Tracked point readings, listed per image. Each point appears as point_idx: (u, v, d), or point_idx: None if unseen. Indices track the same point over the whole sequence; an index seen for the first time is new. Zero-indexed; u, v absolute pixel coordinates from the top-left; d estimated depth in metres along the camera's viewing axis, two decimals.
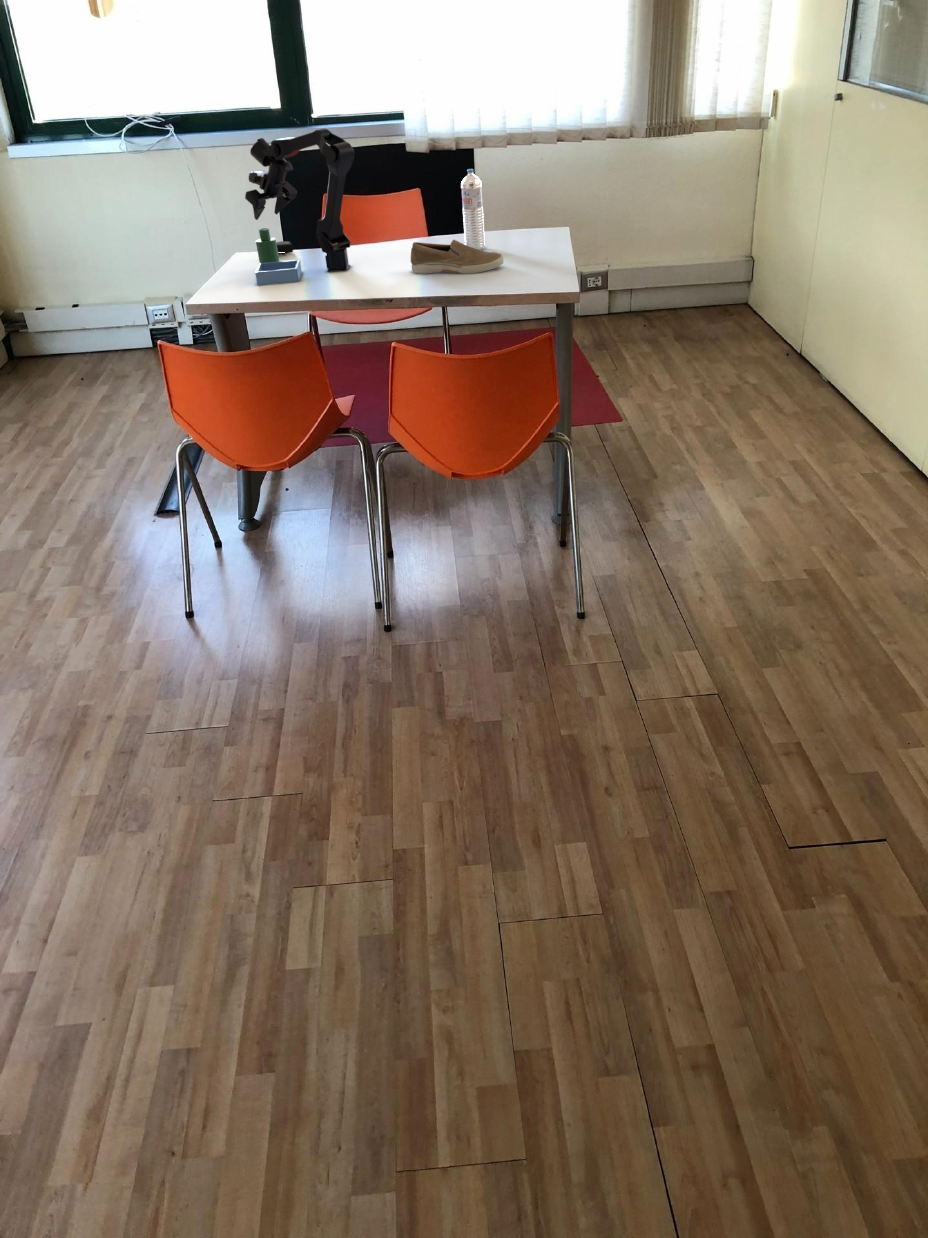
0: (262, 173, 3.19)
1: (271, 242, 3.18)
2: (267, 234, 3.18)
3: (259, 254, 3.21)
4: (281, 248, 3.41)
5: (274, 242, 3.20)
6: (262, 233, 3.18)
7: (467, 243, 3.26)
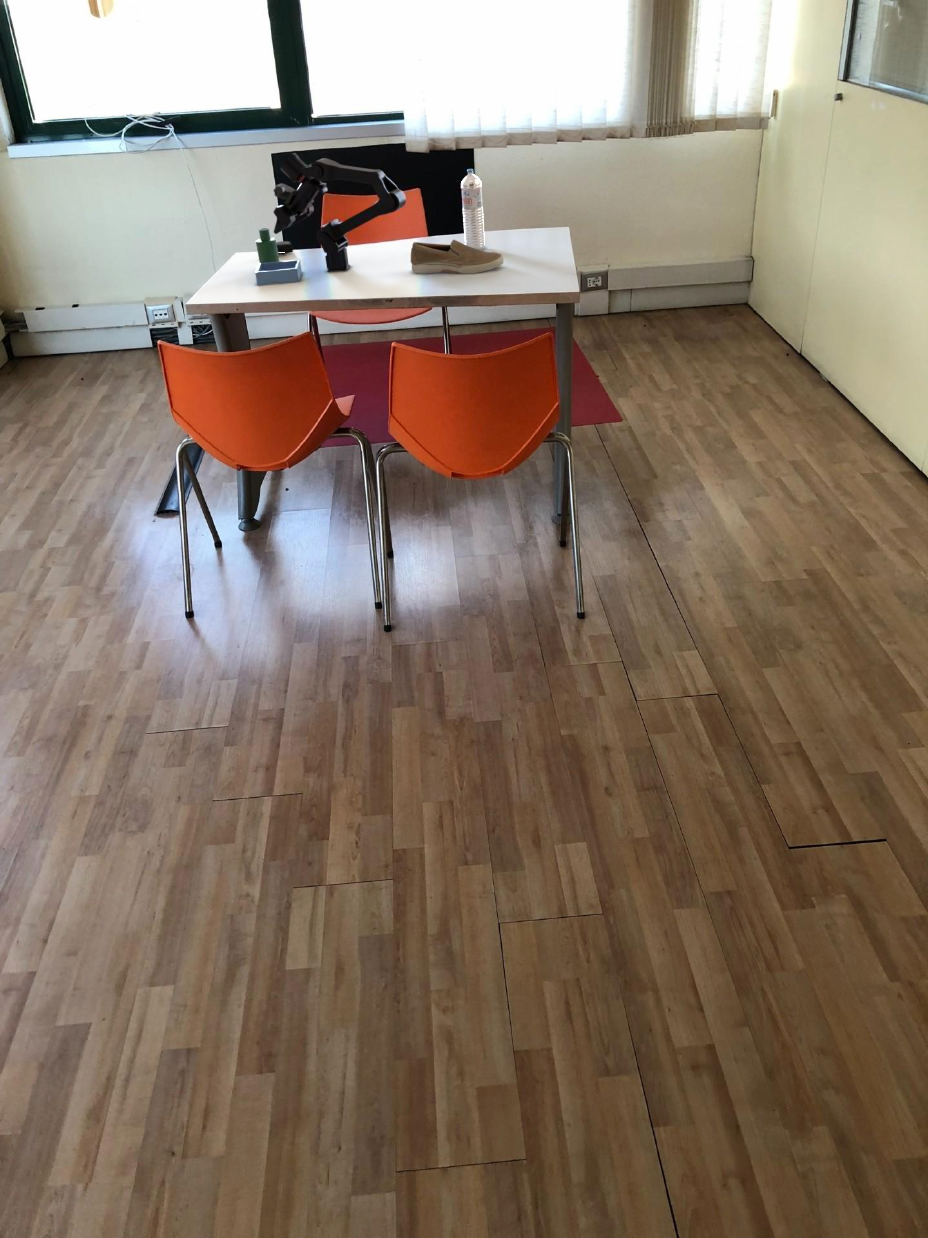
0: (286, 187, 3.09)
1: (271, 242, 3.18)
2: (267, 234, 3.18)
3: (259, 254, 3.21)
4: (281, 248, 3.40)
5: (274, 242, 3.20)
6: (262, 233, 3.18)
7: (467, 243, 3.26)
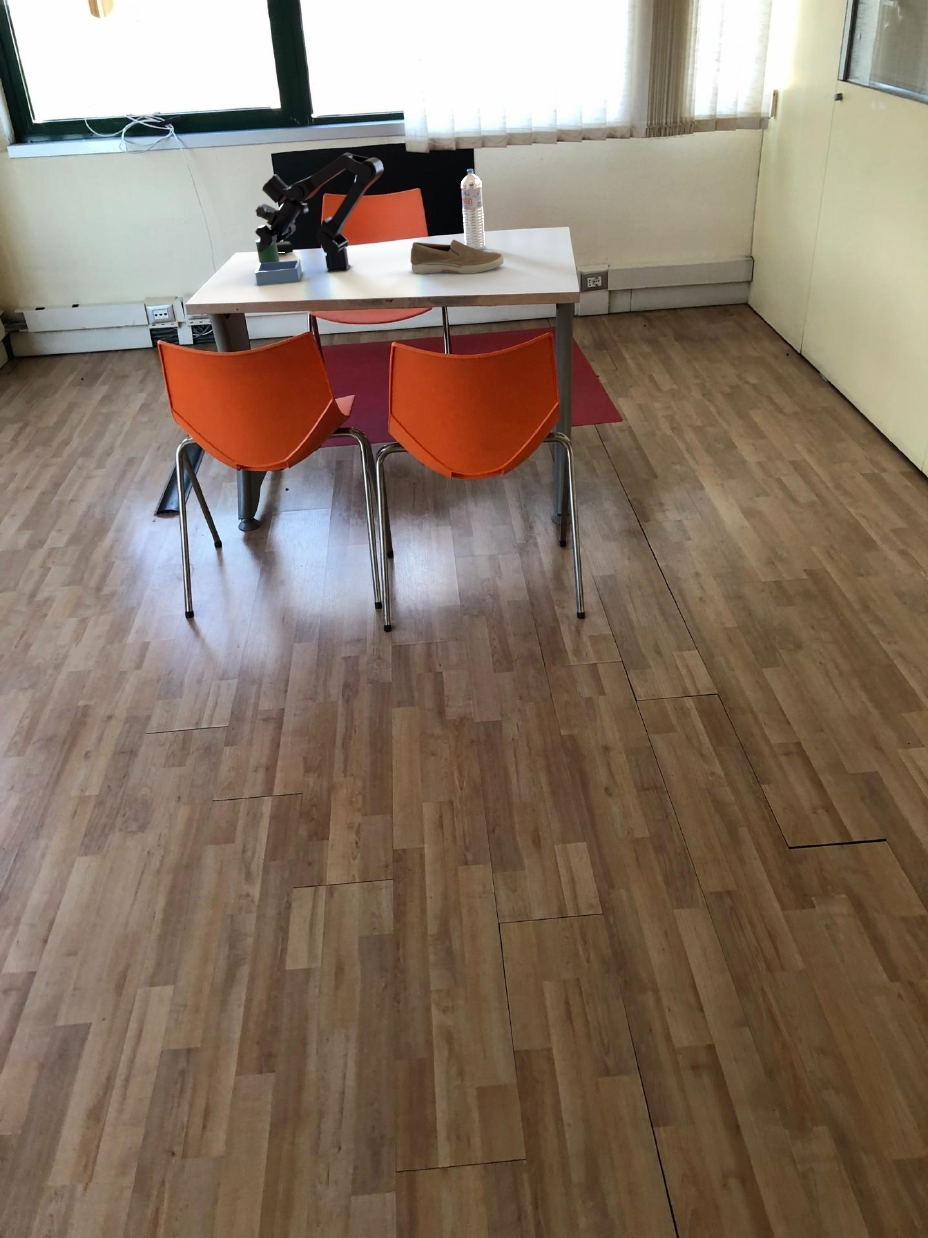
0: (268, 207, 3.14)
1: None
2: None
3: (259, 254, 3.21)
4: (281, 248, 3.40)
5: None
6: None
7: (467, 243, 3.26)
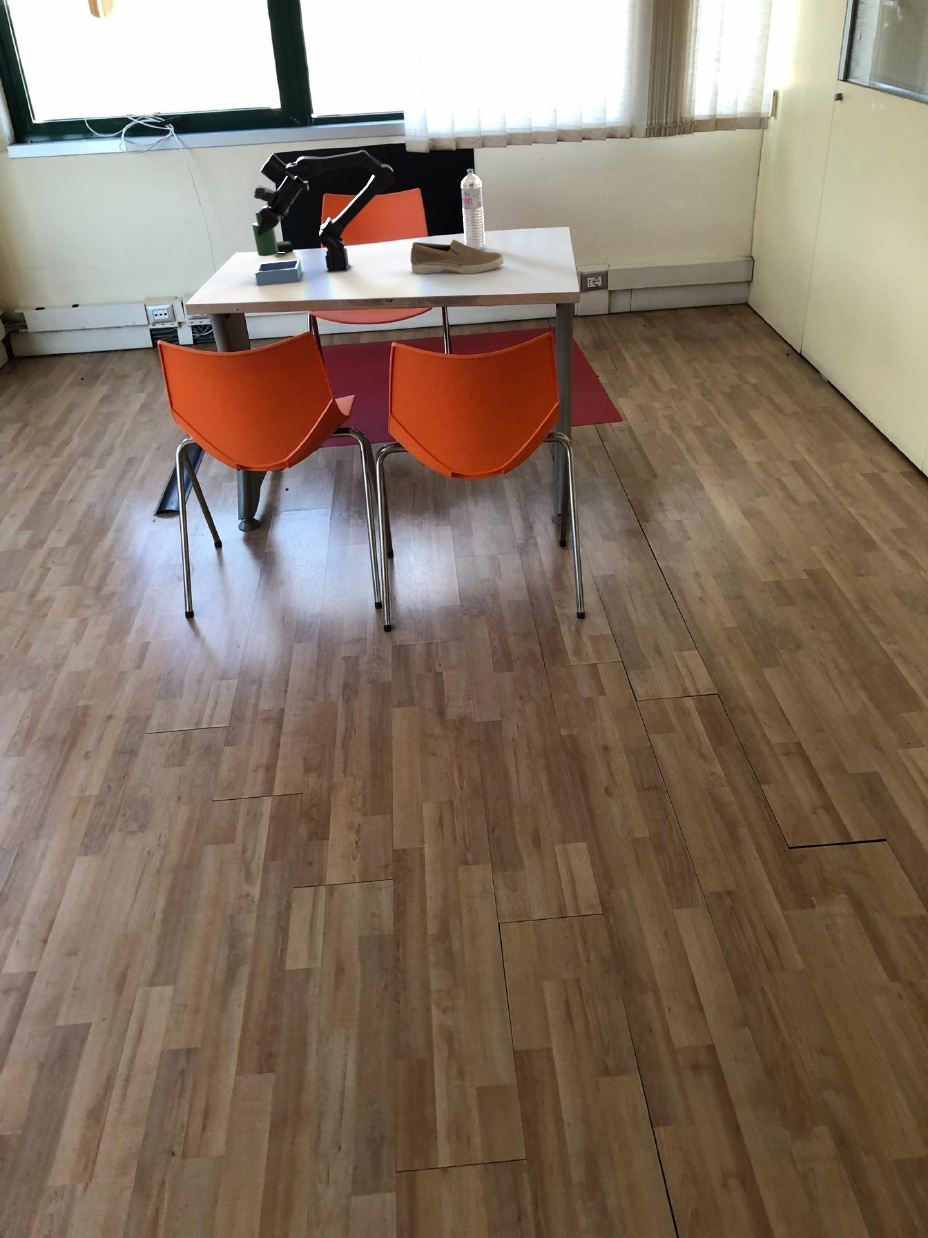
0: (265, 188, 3.04)
1: None
2: None
3: (258, 238, 3.09)
4: (281, 248, 3.40)
5: None
6: (260, 216, 3.07)
7: (467, 243, 3.26)
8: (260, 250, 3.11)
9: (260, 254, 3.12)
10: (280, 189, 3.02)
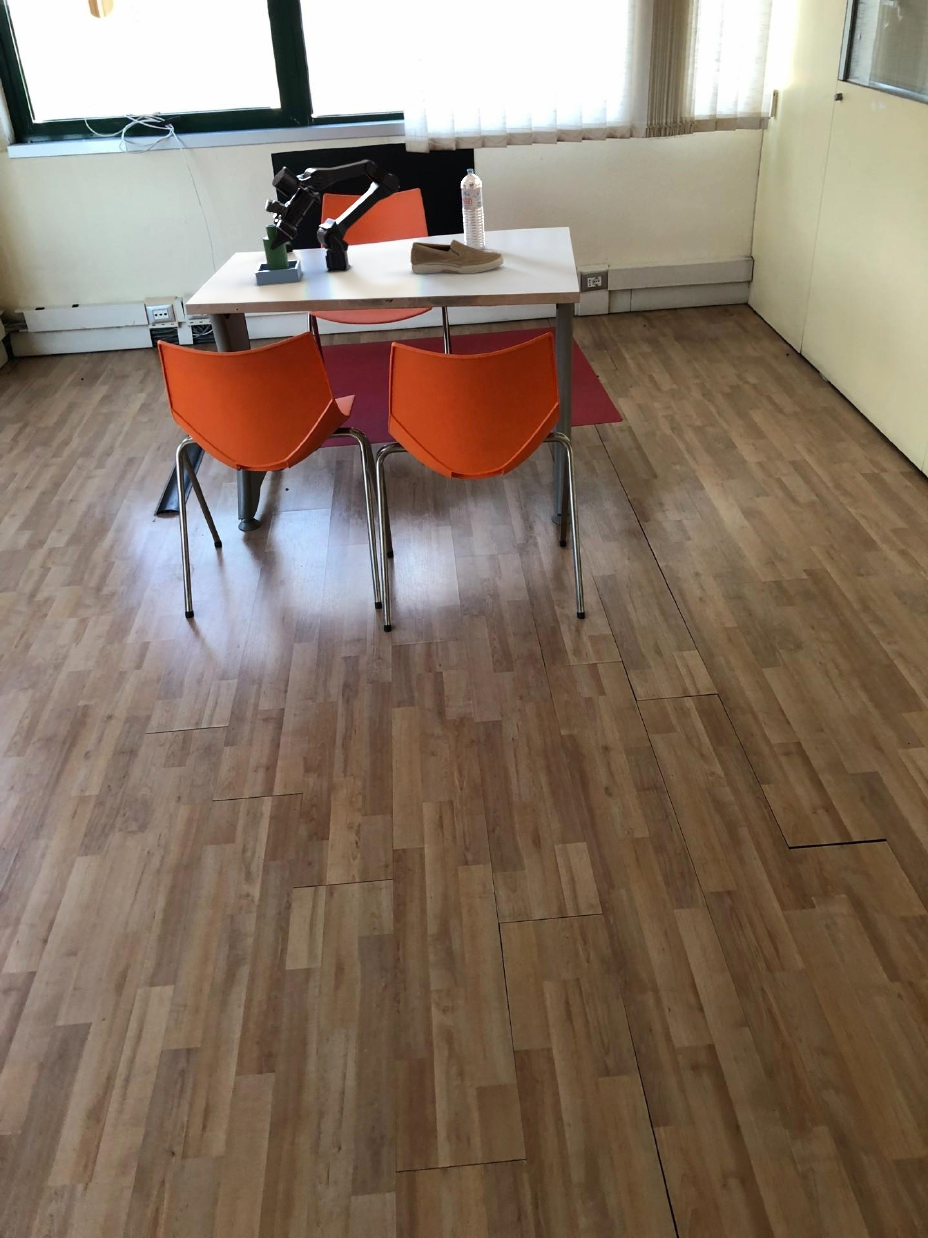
0: None
1: None
2: (276, 230, 3.05)
3: (270, 252, 3.06)
4: None
5: None
6: (272, 230, 3.04)
7: (467, 243, 3.26)
8: (273, 264, 3.08)
9: (272, 268, 3.09)
10: (293, 202, 3.01)
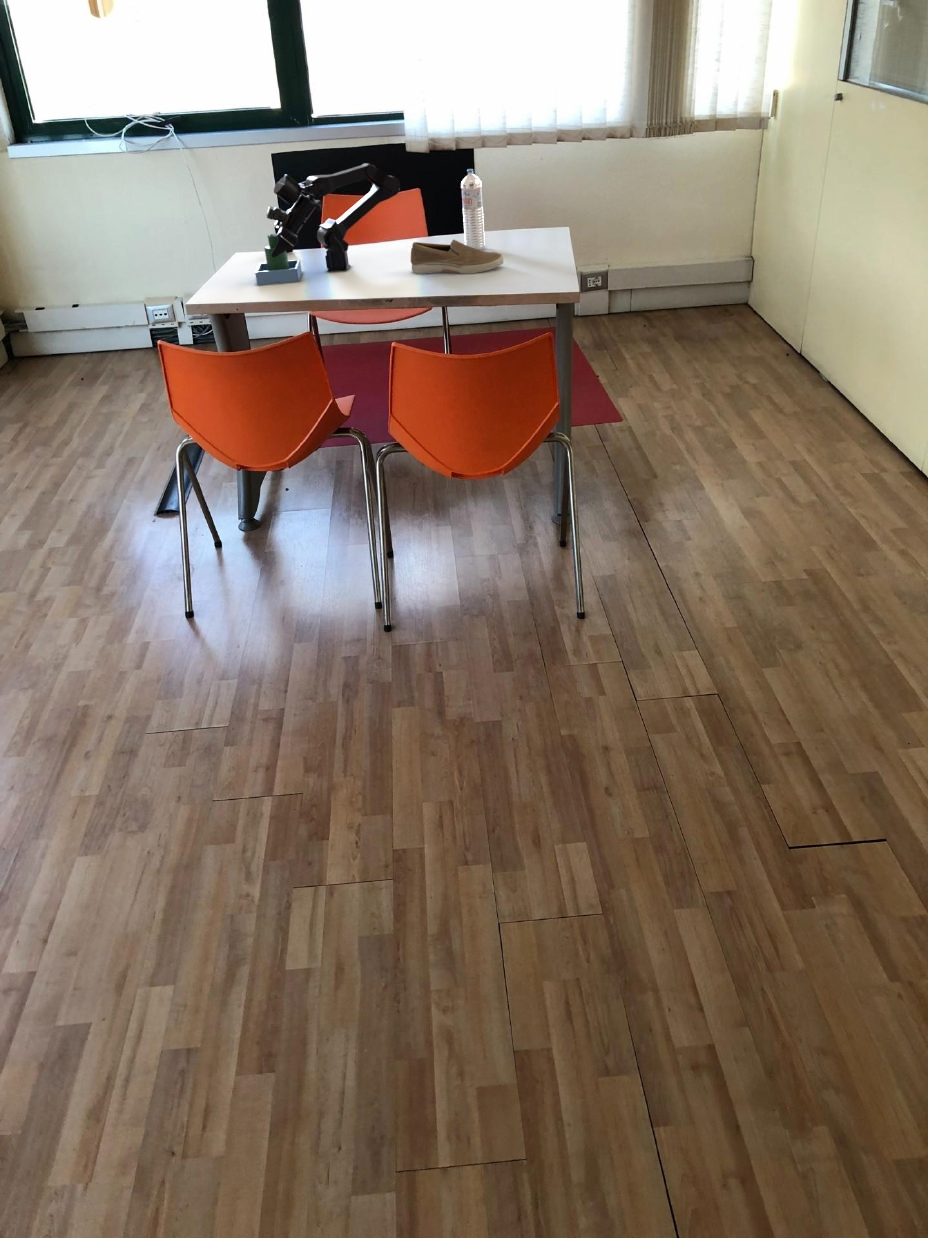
0: None
1: None
2: None
3: (272, 261, 3.07)
4: None
5: None
6: (274, 239, 3.05)
7: (467, 243, 3.26)
8: None
9: None
10: (294, 209, 3.02)
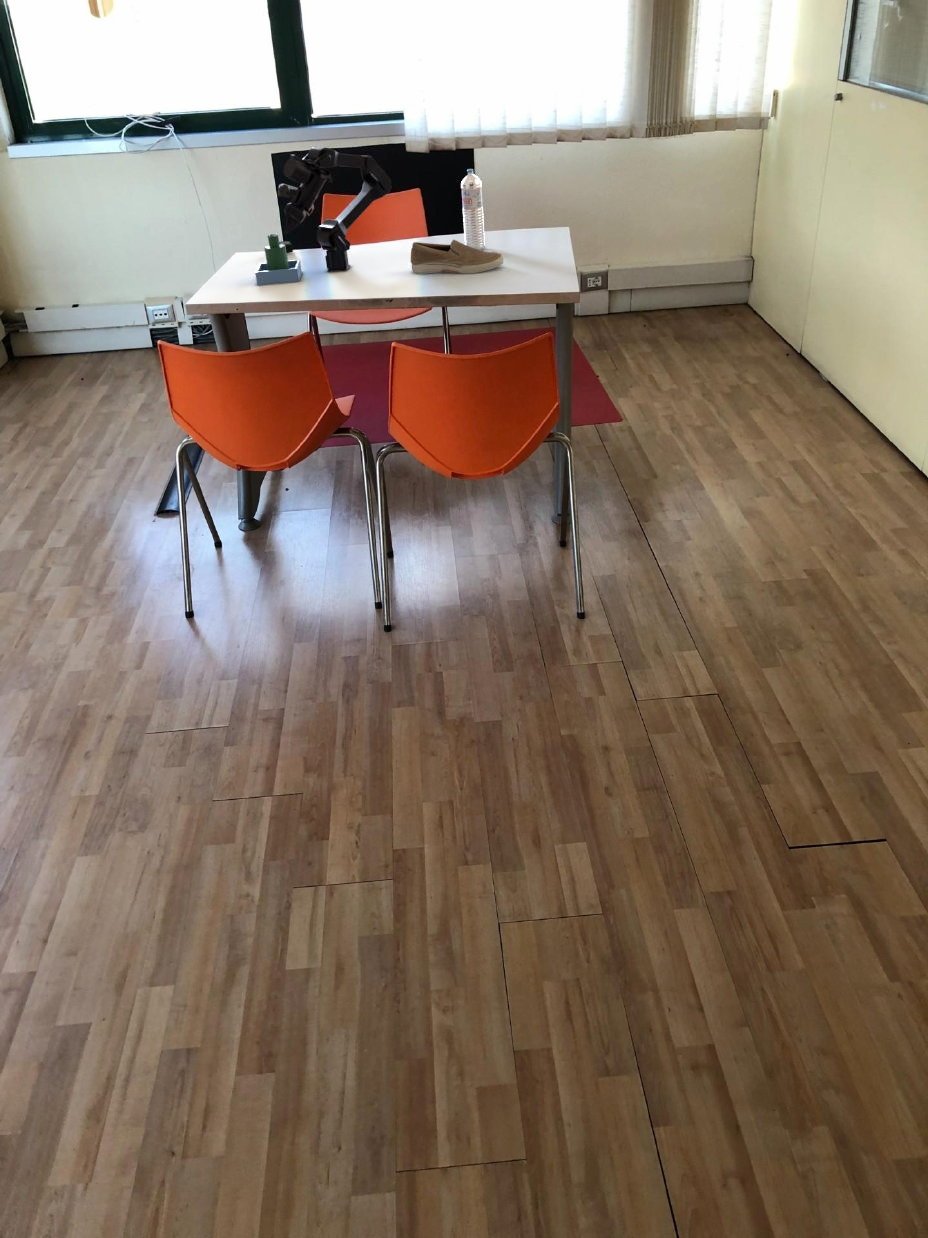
0: (289, 186, 3.02)
1: (284, 247, 3.07)
2: (278, 240, 3.06)
3: (272, 261, 3.07)
4: None
5: (285, 247, 3.08)
6: (274, 239, 3.05)
7: (467, 243, 3.26)
8: None
9: None
10: (303, 184, 3.00)
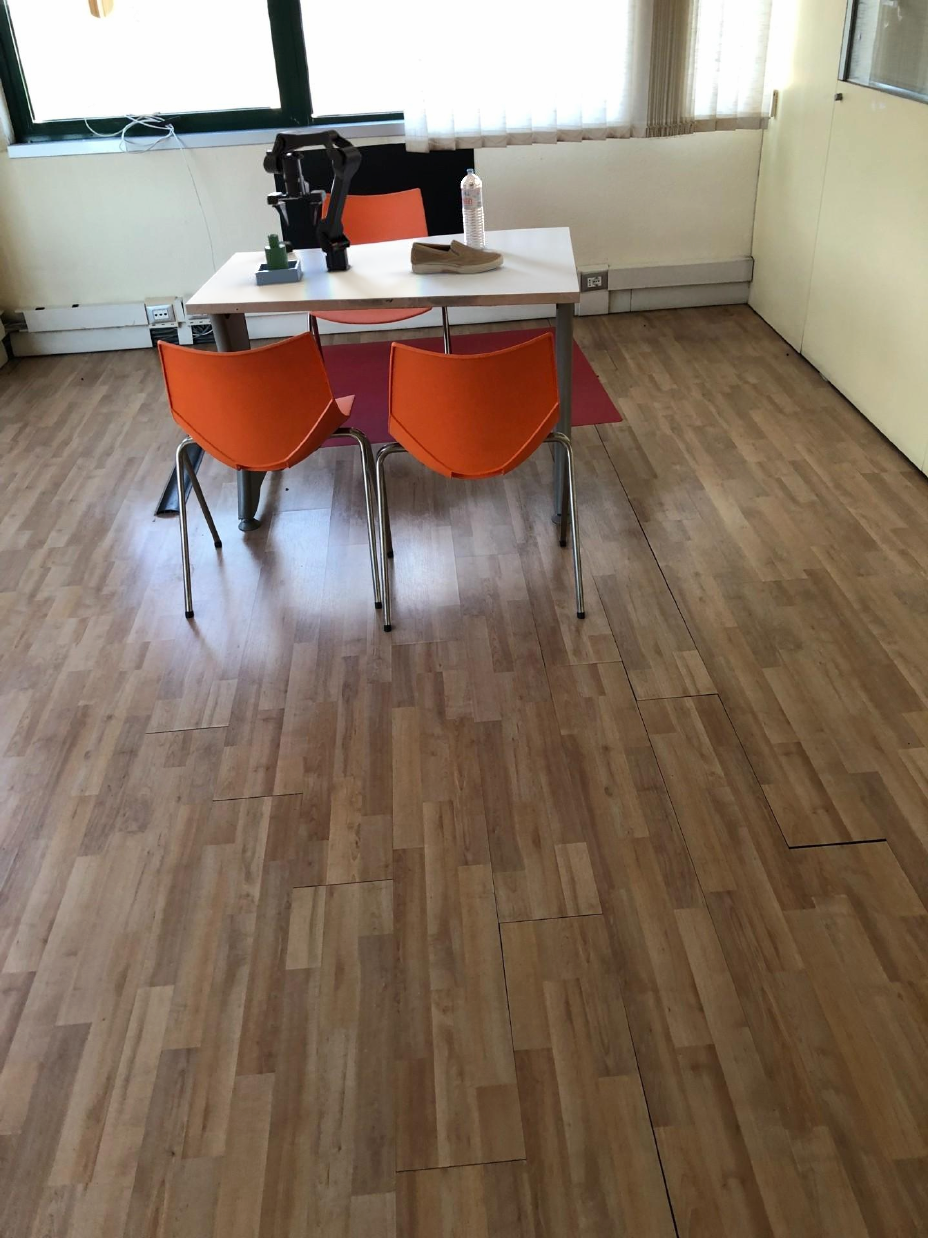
0: None
1: (284, 247, 3.07)
2: (278, 240, 3.06)
3: (272, 261, 3.07)
4: None
5: (285, 247, 3.08)
6: (274, 239, 3.05)
7: (467, 243, 3.26)
8: None
9: None
10: None
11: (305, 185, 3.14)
